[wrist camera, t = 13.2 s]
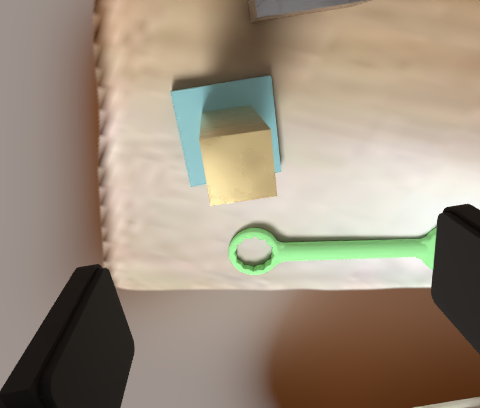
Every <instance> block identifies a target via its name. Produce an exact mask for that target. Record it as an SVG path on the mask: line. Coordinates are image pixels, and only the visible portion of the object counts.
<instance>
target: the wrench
mask: <svg viewBox="0 0 480 408" xmlns="http://www.w3.org/2000/svg"><path fill="white" fill-rule="evenodd" d="M436 230H437V227H436V228H434V229H433V230H431V231H430V232H429V233H428V234H427V235H426V236H425V237H424V238H422V239H394V240H358V241H323V242H287V243H282V242H280V241H277V240H276V238H275V237H274V236H273V235H272V234H271V233H270V232H268V231H266V230H264V229H261V228H248V229H245V230H243V231H241V232H239V233H238V234H237V235H236V236H235V237H234V238H233V240H232V241H231V243H230V246H229V258H230V261H231V262H232V264H233V265H234V266H235V268H237V269H238V270H239V271H241V272H243V273H246V274H250V275H260V274H264V273H266V272H268V271H270V270H271V269H272V268H274V266H275V265H277V264H279V263H281V262H284V261H305V260H335V259H364V258H394V257H416V258H419V259H421V260H422V261H423V263H425V264H426V265H427V266H428V267H429V268H430V269H432V270H433V264H434V253H435V241H436ZM253 237H257V238H258V239H262V240H266V242H267V243H268V244H269V245H270V246H272V252H273V253H272V254H271V259H269V260H267V261H266V262H265V263H264V265H257V266H255V267H252V266H250V265H244V264H243V263H242V261H240V260H238V259H237V254H236V252H235V251H236V250H237V244H239V243H242V241H243V240H244V239H251V238H253Z"/></svg>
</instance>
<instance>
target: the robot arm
mask: <svg viewBox="0 0 480 408" xmlns="http://www.w3.org/2000/svg"><path fill="white" fill-rule="evenodd" d="M431 294H432V298H433V300H434V302H435V304H436V305H437V306H438V307H439V308H440V310H441V311H442V312H443V313H444V314H445V315H446V317H447V318H448V319H449V320H450V321H451V322H452V323H453V325H454V326H455V327H456V328H457V329H458V330H459V331H460V332H461V334H462V335H463V336H464V337H465V338H466V339H467V341H468V342H469V343H470V344H471V345H472V346H473V347H474V349H475V350H477V352H478V353H479V354H480V210H479V209H477V208H475V207H474V206H472V205H470V204H464V205H458V206H451V207H446V208H445V209H444V211H443V213H441V214H439V216H438V219H437V230H436V241H435V253H434V264H433V275H432V287H431ZM133 356H134V341H133V338H132V335H131V332H130V329H129V326H128V323H127V320H126V318H125V315H124V312H123V309H122V306H121V303H120V300H119V298H118V295H117V292H116V289H115V286H114V283H113V280H112V277H111V275H110V272H109V270H108V269H107V268H102V267H101V266H100V265H99V264H96V265H90V266H83V267H78V268H76V270H75V271H74V273H73V274H72V276H71V277H70V279H69V281H68V283H67V284H66V285H65V287H64V289H63V290H62V292H61V294H60V295H59V297H58V298H57V300H56V302H55V303H54V305H53V307H52V308H51V310H50V311H49V313H48V315H47V316H46V318H45V320H44V321H43V323H42V324H41V326H40V328H39V329H38V331H37V332H36V334H35V336H34V337H33V339H32V340H31V342H30V344H29V345H28V347H27V349H26V350H25V352H24V353H23V355H22V357H21V358H20V360H19V362H18V363H17V365H16V366H15V368H14V370H13V371H12V373H11V375H10V376H9V378H8V379H7V381H6V383H5V384H4V386H3V388H2V389H1V391H0V408H120V407H121V403H122V399H123V395H124V391H125V387H126V383H127V379H128V375H129V371H130V368H131V364H132V360H133ZM415 408H480V397H477V398H471V399H464V400H458V401H452V402H446V403H439V404H433V405H427V406H421V407H415Z"/></svg>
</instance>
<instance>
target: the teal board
mask: <svg viewBox="0 0 480 408" xmlns="http://www.w3.org/2000/svg"><path fill="white" fill-rule="evenodd" d="M171 97H172V101H173V106H174V111H175V115H176V120H177V125H178V129H179V134H180V139H181V143H182V148H183V153H184V157H185V162H186V167H187V171H188V176H189V181H190V185H191V187H192V186H199V185H205V184H207V183H206V177H205V171H204V166H203V160H202V154H201V148H200V142H199V135H200V125H201V115H202V112H206V111H213V110H220V109H227V108H235V107H242V106H249V105H251V106H252V107H253V108H254V109H255V111H256V112H257V113H258V114H259V115H260V117H261V118H262V119H263V120H264V121H265V123H266V124H267V125H268V126H269V127H270V129H271V135H272V146H273V157H274V168H275V173H277V172H281V164H280V155H279V145H278V136H277V126H276V117H275V107H274V98H273V88H272V79H271V76H270V75H267V76H260V77H254V78H248V79H242V80H236V81H229V82H223V83H217V84H211V85H204V86H198V87H192V88H186V89H180V90H173V91H171Z"/></svg>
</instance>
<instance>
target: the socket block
mask: <svg viewBox="0 0 480 408" xmlns="http://www.w3.org/2000/svg"><path fill="white" fill-rule="evenodd" d="M368 1H371V0H248V6H249V14H250V22H257V21H263V20H270V19H276V18H282V17H289V16H295V15H301V14H308V13H314V12H320V11H327V10H333V9H339V8H346V7H352V6H355V5H359V4H362V3H365V2H368Z"/></svg>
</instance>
